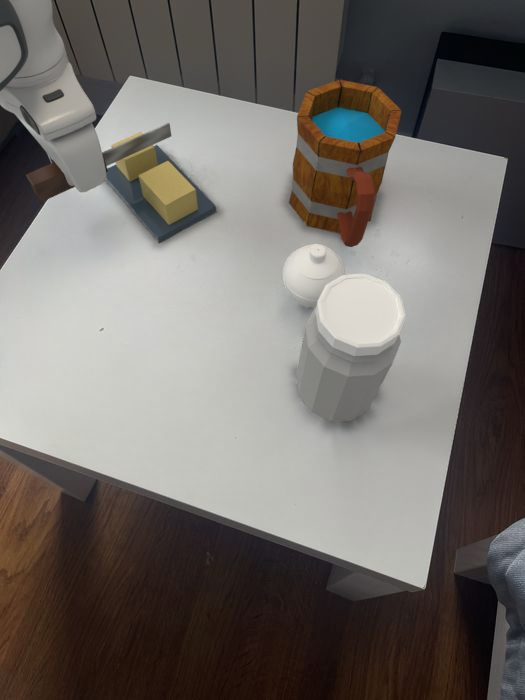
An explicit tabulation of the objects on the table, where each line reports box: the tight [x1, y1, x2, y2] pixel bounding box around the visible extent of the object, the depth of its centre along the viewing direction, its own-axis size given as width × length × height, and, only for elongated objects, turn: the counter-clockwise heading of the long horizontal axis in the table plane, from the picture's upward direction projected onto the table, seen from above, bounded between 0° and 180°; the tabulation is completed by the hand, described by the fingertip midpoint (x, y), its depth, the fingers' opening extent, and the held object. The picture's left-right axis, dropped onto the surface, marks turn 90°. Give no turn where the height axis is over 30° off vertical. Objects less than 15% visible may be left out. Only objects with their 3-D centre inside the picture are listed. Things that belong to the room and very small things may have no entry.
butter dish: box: [104, 144, 217, 244], centre depth 80 cm, size 10×16×1 cm, turn 38°
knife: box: [25, 122, 172, 203], centre depth 74 cm, size 21×2×3 cm, turn 127°
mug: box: [288, 79, 402, 248], centre depth 73 cm, size 20×14×15 cm
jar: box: [295, 273, 407, 422], centre depth 58 cm, size 10×10×18 cm
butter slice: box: [111, 131, 158, 181], centre depth 80 cm, size 5×4×4 cm
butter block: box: [138, 161, 198, 225], centre depth 77 cm, size 5×7×4 cm
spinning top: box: [281, 243, 346, 309], centre depth 66 cm, size 8×8×12 cm
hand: (67, 173), depth 72 cm, fingers closed on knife, 2 cm apart
